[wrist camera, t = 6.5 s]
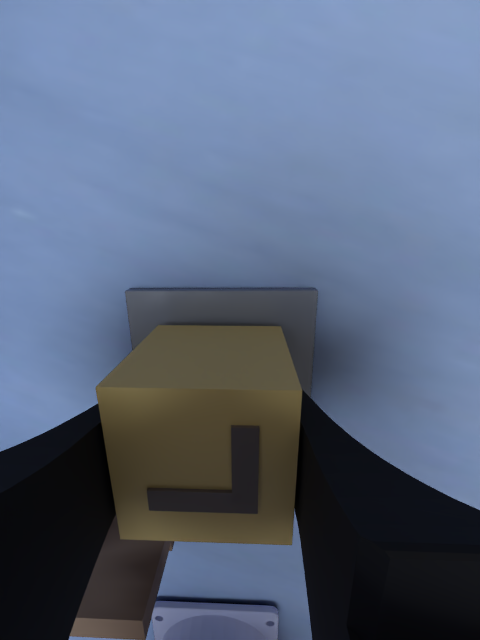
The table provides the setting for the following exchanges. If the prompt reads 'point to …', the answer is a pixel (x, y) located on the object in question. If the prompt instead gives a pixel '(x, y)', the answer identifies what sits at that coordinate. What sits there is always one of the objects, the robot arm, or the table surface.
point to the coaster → (231, 315)
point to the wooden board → (122, 588)
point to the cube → (204, 435)
